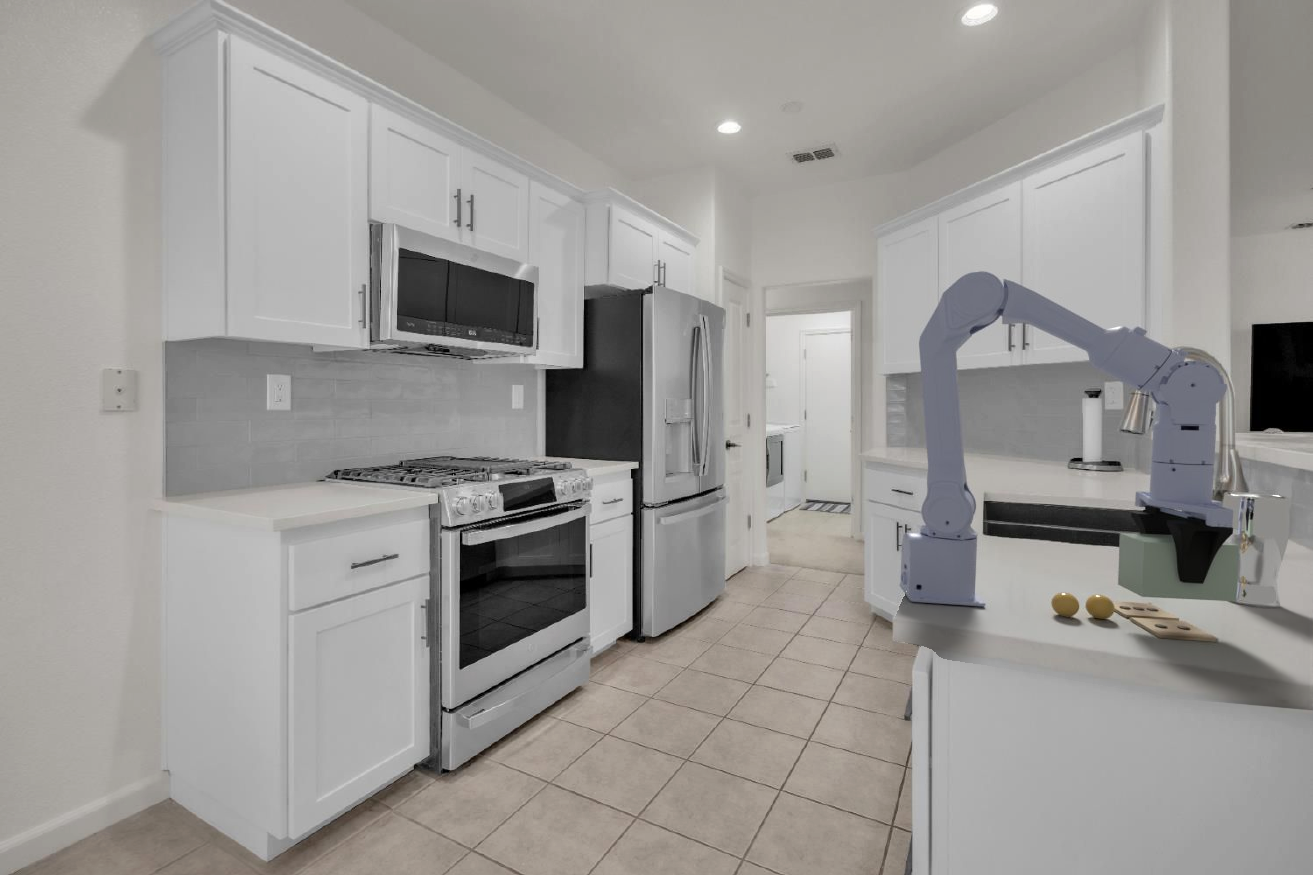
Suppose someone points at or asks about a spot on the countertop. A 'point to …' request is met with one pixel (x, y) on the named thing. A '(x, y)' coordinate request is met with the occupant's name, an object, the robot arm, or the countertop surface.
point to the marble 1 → (1065, 604)
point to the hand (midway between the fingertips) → (1175, 575)
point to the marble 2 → (1100, 606)
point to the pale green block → (1173, 569)
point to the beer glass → (1258, 544)
